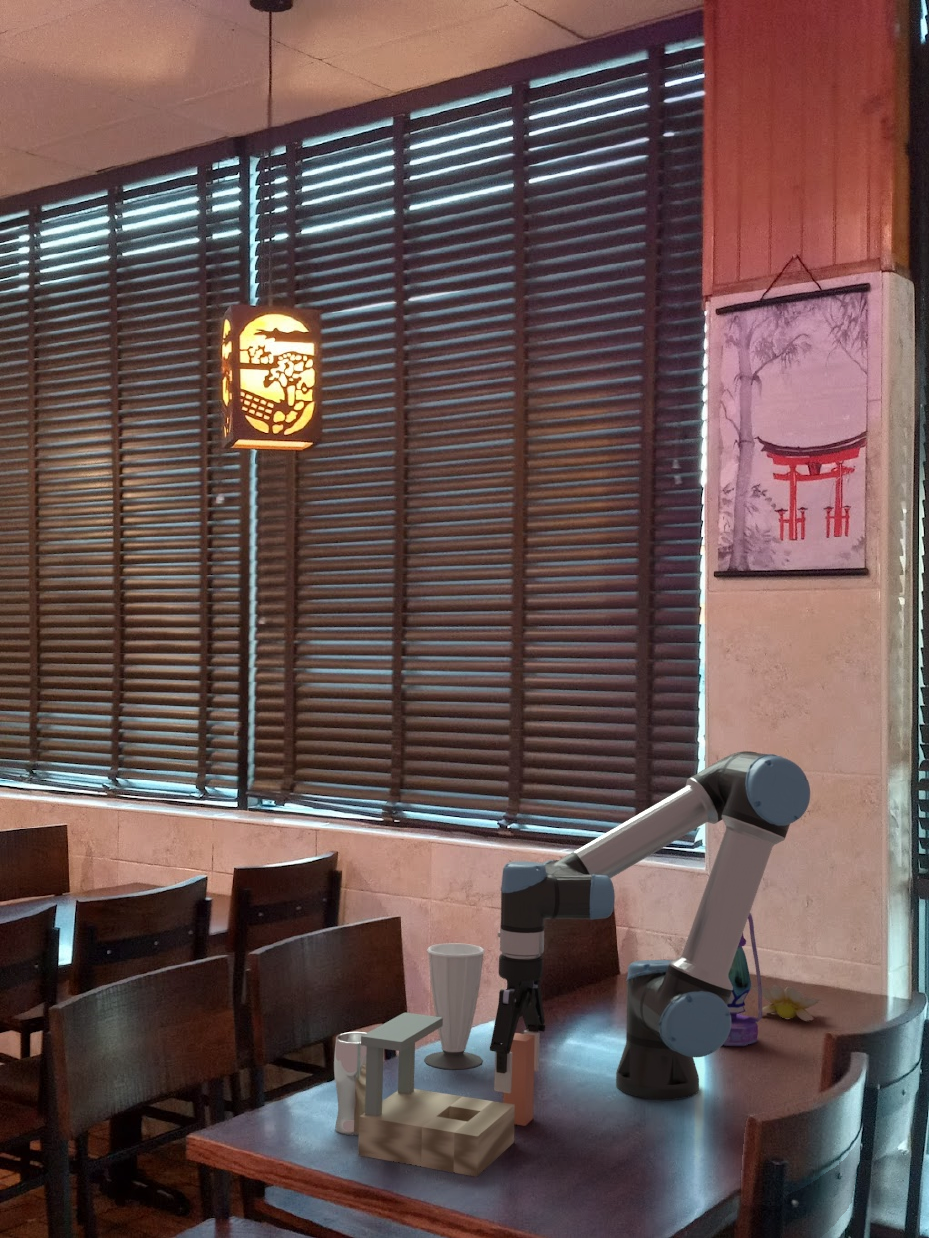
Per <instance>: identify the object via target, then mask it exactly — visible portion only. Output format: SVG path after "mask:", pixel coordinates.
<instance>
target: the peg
mask: <svg viewBox="0 0 929 1238" xmlns="http://www.w3.org/2000/svg"><path fill="white" fill-rule="evenodd" d="M534 1045H535V1035H527V1034H524V1033H519V1032H515V1035H514V1038H513V1042H512V1046H511V1049H510V1052H512V1081H511V1093H504V1092H502V1093H503V1096H502V1097H503V1098H502V1099H503V1100H502V1103H507V1104H514V1105H515V1115H514V1125H516V1124H517V1126H523V1127H525V1126H527V1125H528V1124H529V1123H530V1122H531V1121H533V1119H534V1091H535V1083H534V1082H535V1081H534V1080H535V1071H534Z"/></svg>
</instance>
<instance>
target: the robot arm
mask: <svg viewBox="0 0 929 1238" xmlns="http://www.w3.org/2000/svg"><path fill="white" fill-rule="evenodd" d="M810 800H811V788H810V783H809V779H807V776H806V774H805V772H804V771H803V769H802V768H801V767H800V766H799V765H798V764H797V763H796V762H794V761H792V760H791V759H788V758H786V757H783V756H781V755H777V754H775V753H774V754H773V753H769V754H766V753H760V752H756V751H746V750H745V751H744V750H743V751H739V752H735V753H732V754H730V755H727V756H725V757H723V758H721V759H720V760H717V762H716V761H715V762H714V763H712V764H711V765H709V766H708V767H706V768H704V769H702V770H701V771H699V772H697V773H696V774H694V775H691V776H690V777H689V778H687V780H686V784H685V786H684V787H682V788H681V789H679V790H677V791H676V792H673V793H672V794H671V795H669V796H667V797H666V798H664V799H662V800H660V801H658V802H657V803H655V804H653V805H652V806H649V808H646V809H645V810H643V811H642V812H640V813H638V814H636V815H634V816H633V817H630V819H627V820H626V821H624V822H622V823H621V824H619V825H618V826H615V827H614V828H612V829H610V830H609V831H607V832H605V833H604V834H602V835H599V837H597V838H595V839H593V840H592V841H589V842H588V843H587V844H585V845H583V846H581V847H580V848H578V849H576V850H574V851H572V852H571V853H569V854H567V855H565V856H563V857H561V858H560V859H553V860H552V859H551V860H546V861H544V862H542V863H541V862H537V861H526V860H517V861H516V860H515V861H510V862H507V863H506V864H505V865H504V867H503V868H502V877H501V884H500V885H501V887H500V892H501V893H500V931H498V932H497V937H498V938H499V951H500V952H501V953H500V955H499V956H498V976H499V977H500V978H501V979H503V980H506V981H507V985H506V989H502V988H501V989H499V991H498V993H499V994H498V1006H497V1009H496V1010H497V1011H496V1013H495V1014H496V1015H495V1021H494V1024H493V1025H494V1026H493V1031H492V1036H491V1040H490V1041H491V1042H490V1044H489V1045H490V1046H489V1052H494V1053H495V1055H494V1056H495V1057H494V1059H495V1060H494V1082H493V1083H494V1086H493V1089H494V1090H493V1091H494V1092H499V1093H503V1092H504V1093H511V1081H512V1052H510V1049H511V1046H512V1042H513V1038H514V1035H515V1033H516V1030H517V1027H518V1023H519V1021H520V1017H522V1020H523V1023H524V1026H525V1029H526V1030H525V1029H524V1030H523V1034H527V1035H535V1045H534V1072H538V1071H540V1070H539V1069H540V1067H539V1063H540V1038H541V1037H540V1035H541V1033H540V1032H543V1033H545V1030H546V1025H545V1022H546V1019H545V1013H544V1006H543V998H542V992H541V979H542V977H543V975H544V974H543V972H544V957H543V956H542V954H544V951H545V950H544V949H545V947H544V945H545V920H555V919H556V920H590V921H593V920H598V919H607V918H609V917H610V916H611V915H612V913H613V912H614V907H615V900H616V899H615V896H616V895H615V886H614V884H613V881H612V878H614V877H616V876H617V875H619V874H620V873H622V872H624V871H626V870H627V869H629V868H632V866H634V865H636V864H637V863H639V862H641V861H643V860H644V859H647V858H648V857H650V856H652V855H653V854H655V853H656V852H658V851H660V850H662V849H663V848H665V847H667V846H669V845H670V844H672V843H674V842H676V841H677V840H678V839H680V838H683V836H686V835H687V834H689V833H691V832H693V831H694V830H696V829H698V828H699V827H701V826H702V825H704V824H707V823H708V824H713V825H716V824H717V823H719V822H720V821H723V824H724V825H725V831H724V834H723V837H722V840H721V843H720V845H719V847H718V851H717V855H716V857H715V860H714V863H713V865H712V868H711V871H710V873H709V877H708V880H707V883H706V886H705V888H704V891H703V894H702V897H701V899H700V902H699V905H698V909H697V911H696V914H695V917H694V919H693V922H692V925H691V928H690V930H689V934H688V937H687V938H686V941H685V944H684V948H683V951H682V954H681V956H680V957H679V958H676V959H674V960H673V959H644V960H643V959H642V960H635V961H633V962H631V963H630V964H629V965H628V968H627V977H626V979H625V982H626V1036H625V1037H626V1039H625V1040H626V1041H625V1045H624V1048H623V1052H622V1054H621V1058H620V1060H619V1064H618V1067H617V1069H616V1073H615V1077H616V1078H615V1086H616V1087H617V1088H618V1089H619V1090H621V1091H622V1092H623V1093H626V1094H629V1095H631V1096H633V1097H634V1096H635V1097H639V1098H643V1099H650V1100H651V1099H652V1100H662V1101H664V1100H667V1101H670V1100H681V1099H686V1098H690V1097H693V1096H695V1095H696V1094H698V1093H699V1091H700V1076H699V1073H698V1070H697V1065H696V1063H695V1059H694V1058H703V1057H707V1056H708V1055H711V1054H712V1053H713V1054H714V1053H715V1052H717V1051H718V1050H719V1049H720V1048H721V1047H723V1044H724V1042H725V1041H726V1039H727V1038H728V1035H729V1033H730V1030H731V1015H730V1011H729V1009H728V1006H727V1004H728V1001H729V999H730V996H731V993H732V990H733V986H732V984H731V982H730V980H729V978H728V974H729V971H730V968H731V965H732V962H733V959H734V956H735V954H736V951H737V948H738V945H739V942H740V939H741V936H742V933H743V934H744V929H745V928H746V924H747V922H748V916H749V913H751V910H752V907H753V905H754V901H755V898H756V896H757V893H758V890H759V888H760V885H761V881H762V879H763V875H764V874H765V869H766V867H767V864H768V861H769V858H770V855H771V853H772V850H773V847H774V846H775V845H777V844H779V843H781V842H784V841H785V839H786V838H787V834H788V831H789V829H790V826H791V824H793V823H795V822H797V820H799V819H801V818H802V817H803V815H804V814H805V813H806V811H807V810H808V806H809V805H810Z"/></svg>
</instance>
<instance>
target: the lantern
mask: <svg viewBox="0 0 929 1238" xmlns="http://www.w3.org/2000/svg"><path fill="white" fill-rule="evenodd" d="M753 919H754V918H753V915H752V913H751V912H750V913H749V916H748V919H747V921H748V925H749V933H750V935H749V936H750V942H751V949H752V955H753V961H754V965H755V973H756V981H757V986H758V993H757V994H758V997H757V998H758V999H757V1000H758V1002H757V1003H758V1012H757V1013H758V1016H757V1017H756V1016H755V1017H754V1016H747V1015H743V1014H742V1013H745V1012H746V1010H745V1006H746V1004H745V1000H746V998H747V996H748V994H749V992H750V991H751V989H752V981H751V976H750V971H749V966H748V961H747V957H746V953H745V951H744V949H743V948H744V947H745V946H746V945H747V940H746V938H744V932H743V933H742V936H741V939H740V942H739V945H738V948H737V951H736V954H735V956H734V959H733V962H732V965H731V968H730V971H729V974H728V978H729V980H730V982H731V984H732V986H733V990H732V993H731V996H730V999H729V1001H728V1004H727V1006H728V1009H729V1011H730V1015H731V1030H730V1033H729V1035H728V1038H727V1039H726V1041H725V1042H724V1044H723V1045H724V1047H746V1046H749V1045H750V1044H755V1043H757V1042H758V1035H759V1029H758V1028H759V1025H758V1022H759V1021H760V1020H761V1019H763V1012H762V1008H763V997H762V988H761V986H762V978H761V976H762V975H761V970H760V964H759V963H760V961H759V957H758V956H759V955H758V949H757V944H756V938H755V937H756V935H755V926H754V920H753ZM748 1044H749V1045H748ZM723 1045H722V1046H723Z"/></svg>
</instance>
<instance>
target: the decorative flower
mask: <svg viewBox="0 0 929 1238" xmlns="http://www.w3.org/2000/svg"><path fill="white" fill-rule="evenodd" d="M761 988H762V999H763V998H764V999H765V1000H766V1001H768V1003H770V1004H768V1005H765V1006H762V1013H766V1014H767V1013H776V1014H777V1015H778V1016H779V1017H780V1018H781V1017H782V1018H792V1019H794V1018H795V1017H796V1016H797V1017H798V1018H799V1019H801V1020H802V1021H805V1022H808V1021H807V1020H811V1021H813V1020H814V1017H813V1016H812V1015H811V1014H810V1013H809V1012H808V1011H807V1010H806V1009H809V1008H810V1007H813V1006H816V1005H817V1004H818V1003H820V1002H821V1001H823V1000H822V999H820V998H812V997H807V996H806V997H804V995H803V993H802V992H801V991H800V990H798V989H796V988H794V987H793V986H786V987H782V986H781V985H775V984H774V985H772V986H771V987H766V986H763V985H761ZM752 990H753V991H754V992H756V993H757V994H758V985H756V986H754V987H752ZM756 1012H757V1013H758V1011H757V1010H756ZM782 1018H781V1019H782Z"/></svg>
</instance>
